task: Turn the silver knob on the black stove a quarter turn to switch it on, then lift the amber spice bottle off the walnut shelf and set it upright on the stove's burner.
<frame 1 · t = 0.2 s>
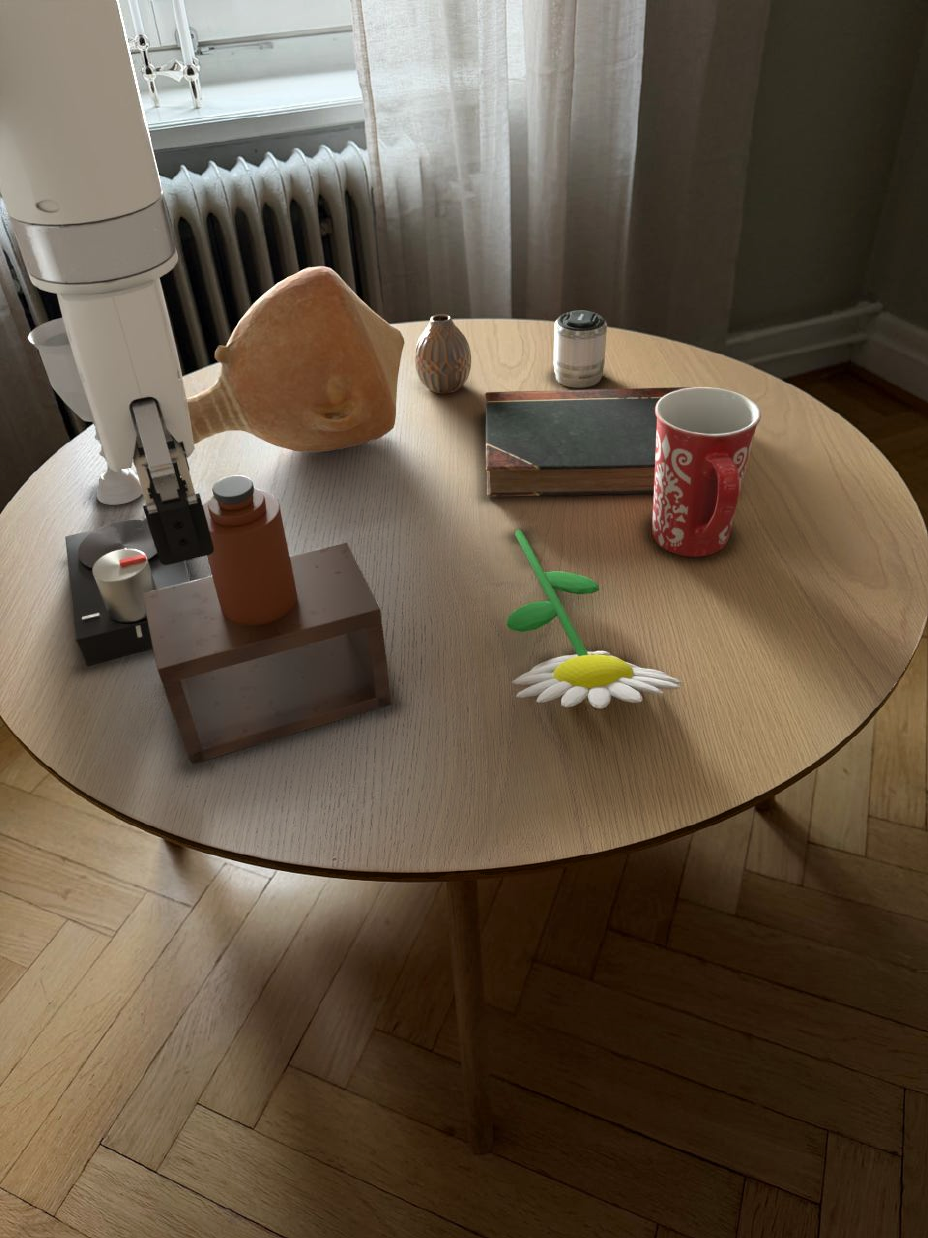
hand: (176, 514, 59), 20 cm above the table, tool pointing down, fingers open, 9 cm apart
stove knob: (126, 584, 77), point 5 cm above the table, hinge at 0.0°
stove: (136, 596, 85), on the table
mug: (692, 547, 88), on the table
decorative flower: (560, 635, 79), on the table
bottle: (259, 600, 68), point 10 cm above the table, touching shelf
burner: (123, 546, 86), resting on stove
shelf: (281, 695, 75), on the table
book: (599, 453, 102), on the table
camera lens: (577, 379, 115), on the table
vase: (444, 387, 115), on the table
chalice: (121, 493, 99), on the table
jug: (282, 448, 105), on the table
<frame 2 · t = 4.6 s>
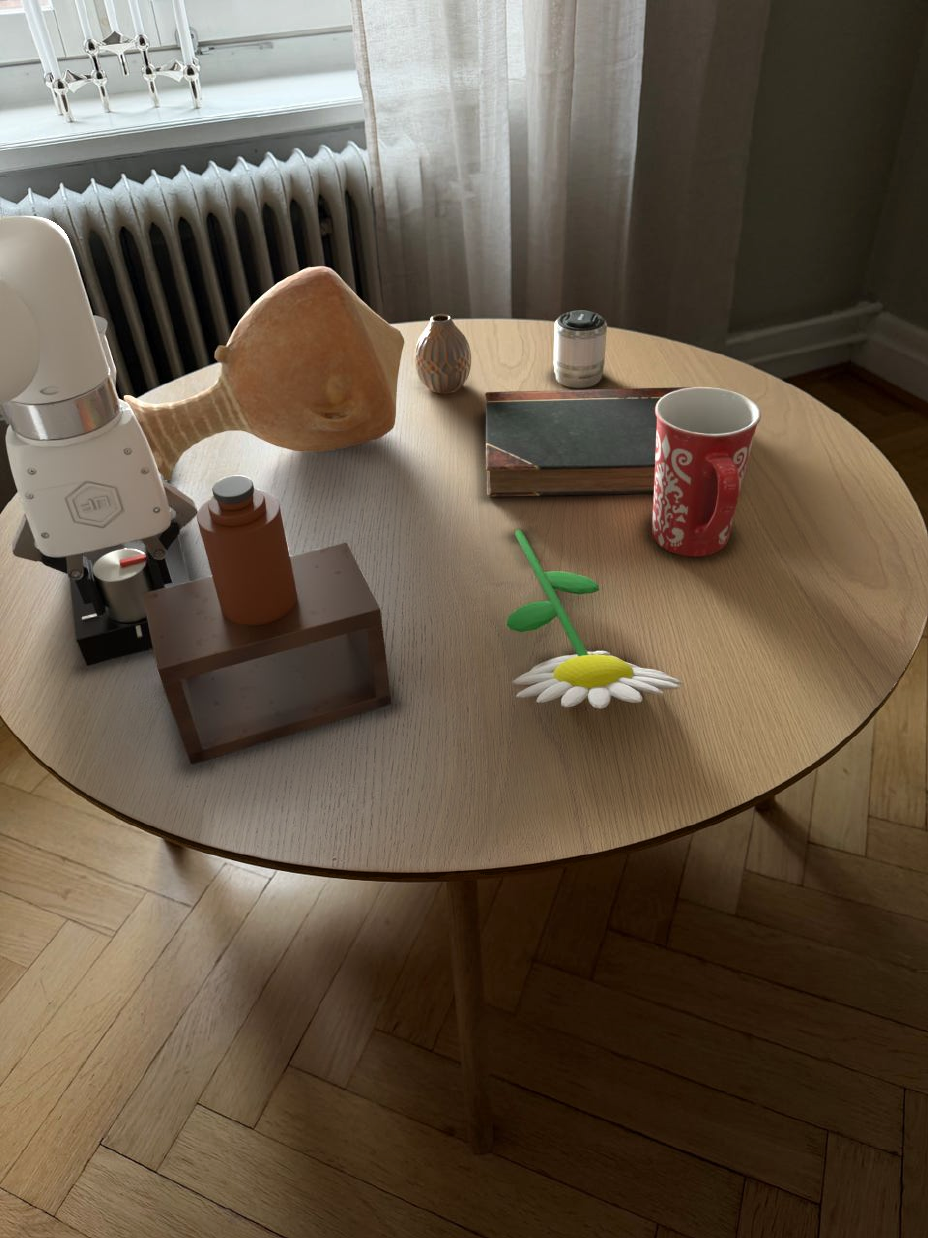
hand: (130, 596, 78), 4 cm above the table, tool pointing down, fingers closed on stove knob, 4 cm apart
stove knob: (126, 584, 77), point 5 cm above the table, hinge at -0.2°, touching gripper
everything else where it was.
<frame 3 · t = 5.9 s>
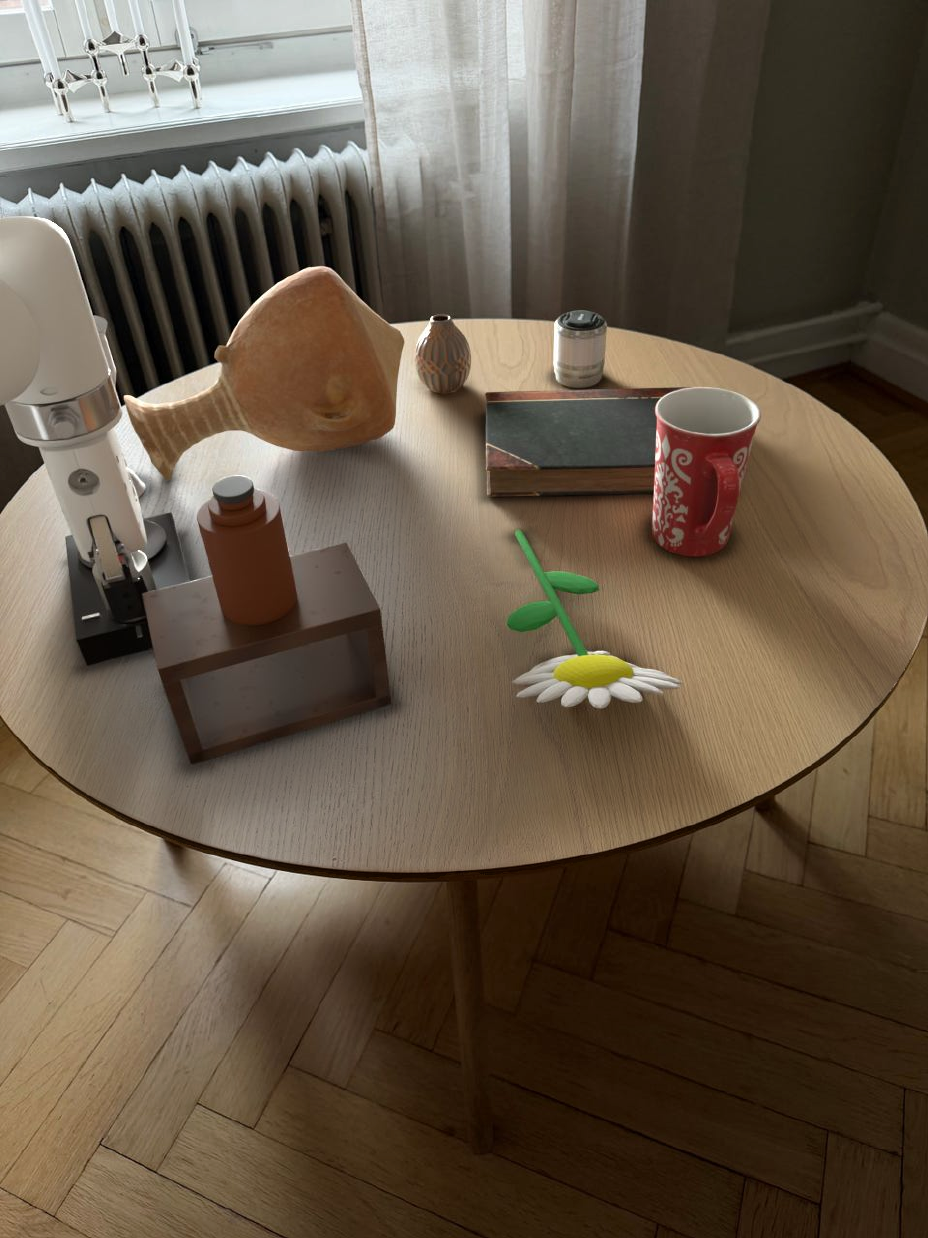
hand: (131, 596, 78), 4 cm above the table, tool pointing down, fingers closed on stove knob, 4 cm apart
stove knob: (126, 584, 77), point 5 cm above the table, hinge at 89.9°, touching gripper
everything else where it was.
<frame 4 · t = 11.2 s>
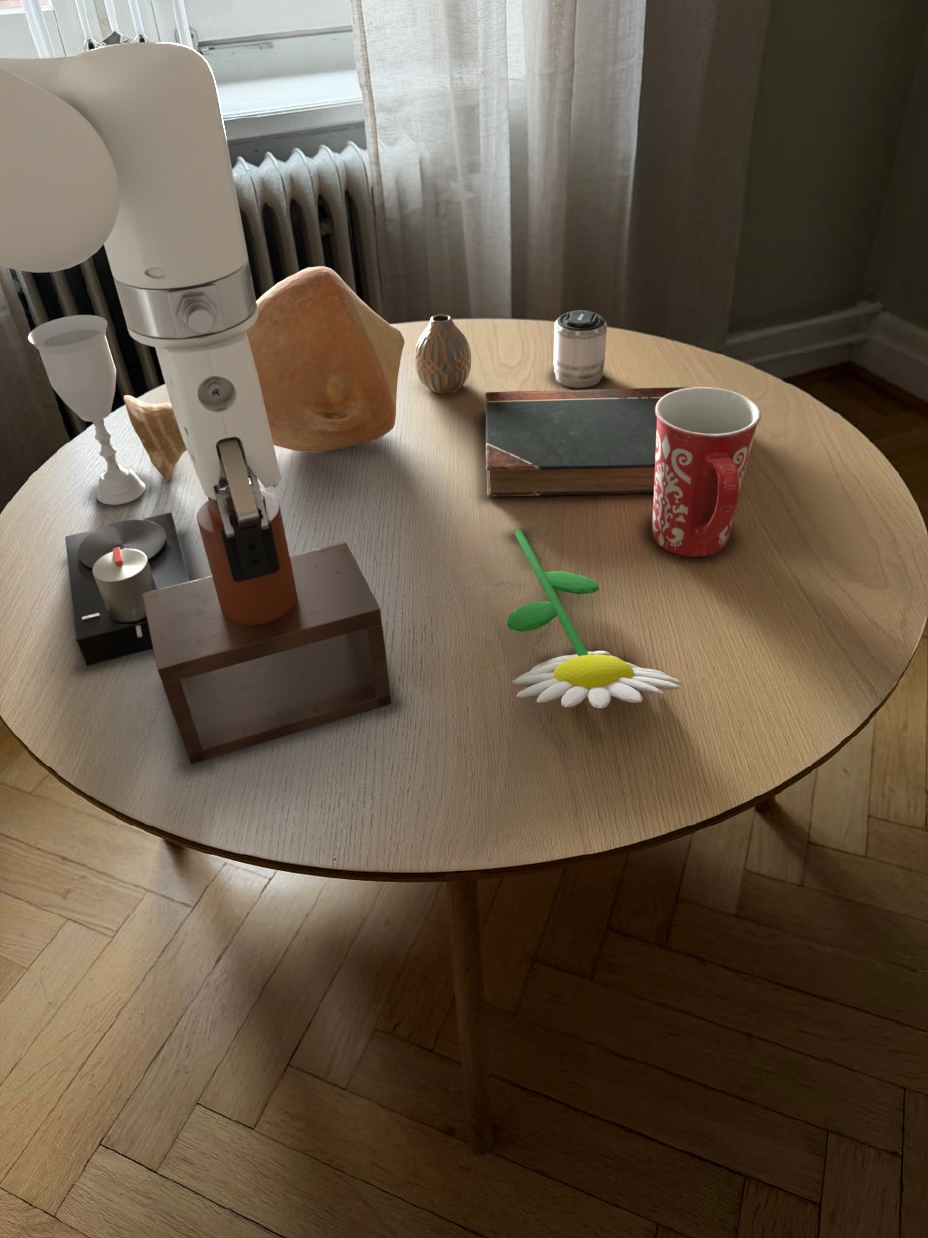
hand: (246, 547, 65), 15 cm above the table, tool pointing down, fingers closed on bottle, 5 cm apart
stove knob: (126, 584, 77), point 5 cm above the table, hinge at 90.9°
bottle: (259, 600, 68), point 10 cm above the table, touching gripper, shelf
everything else where it was.
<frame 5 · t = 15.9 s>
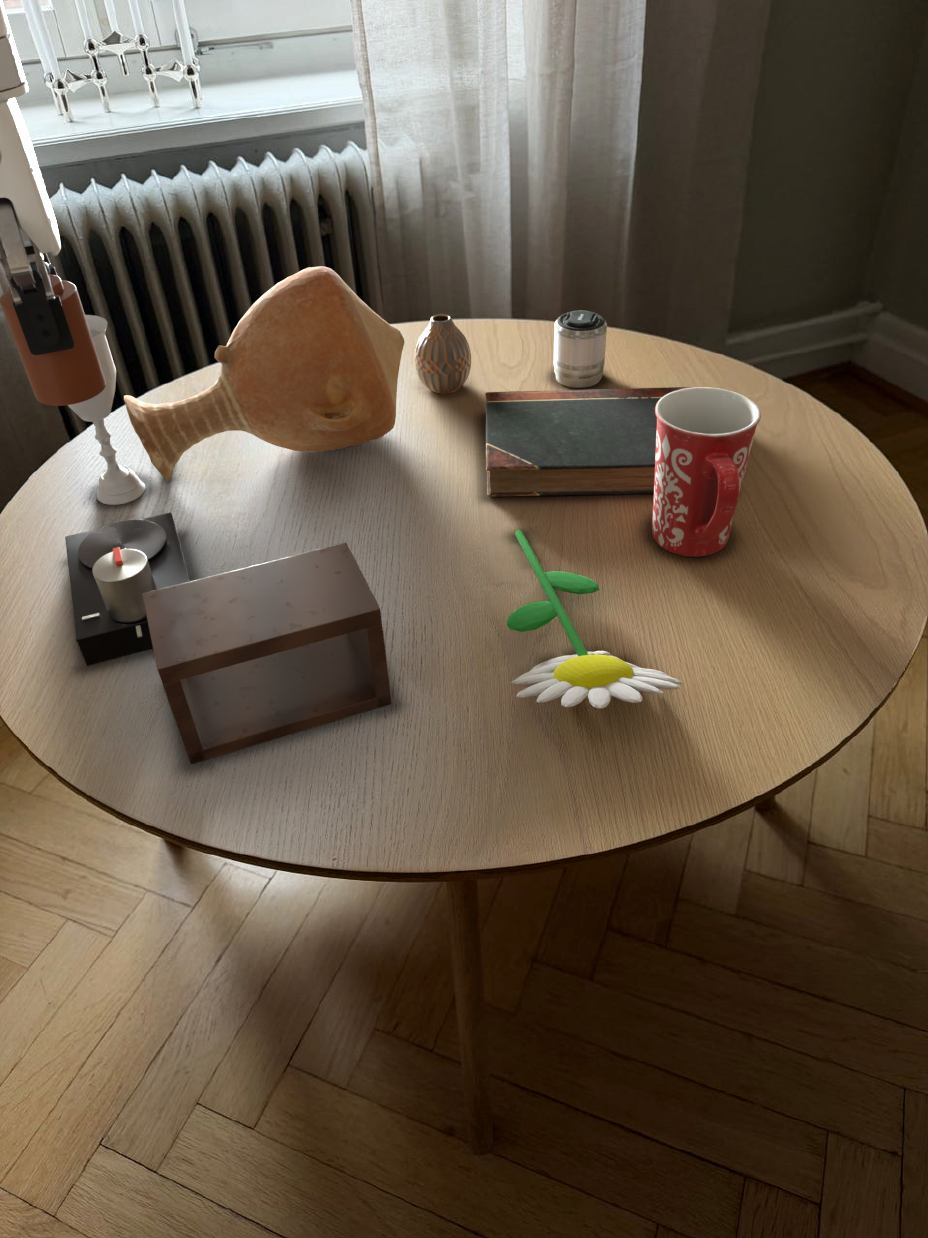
hand: (50, 332, 72), 24 cm above the table, tool pointing down, fingers closed on bottle, 5 cm apart
bottle: (71, 389, 75), point 19 cm above the table, touching gripper
everything else where it was.
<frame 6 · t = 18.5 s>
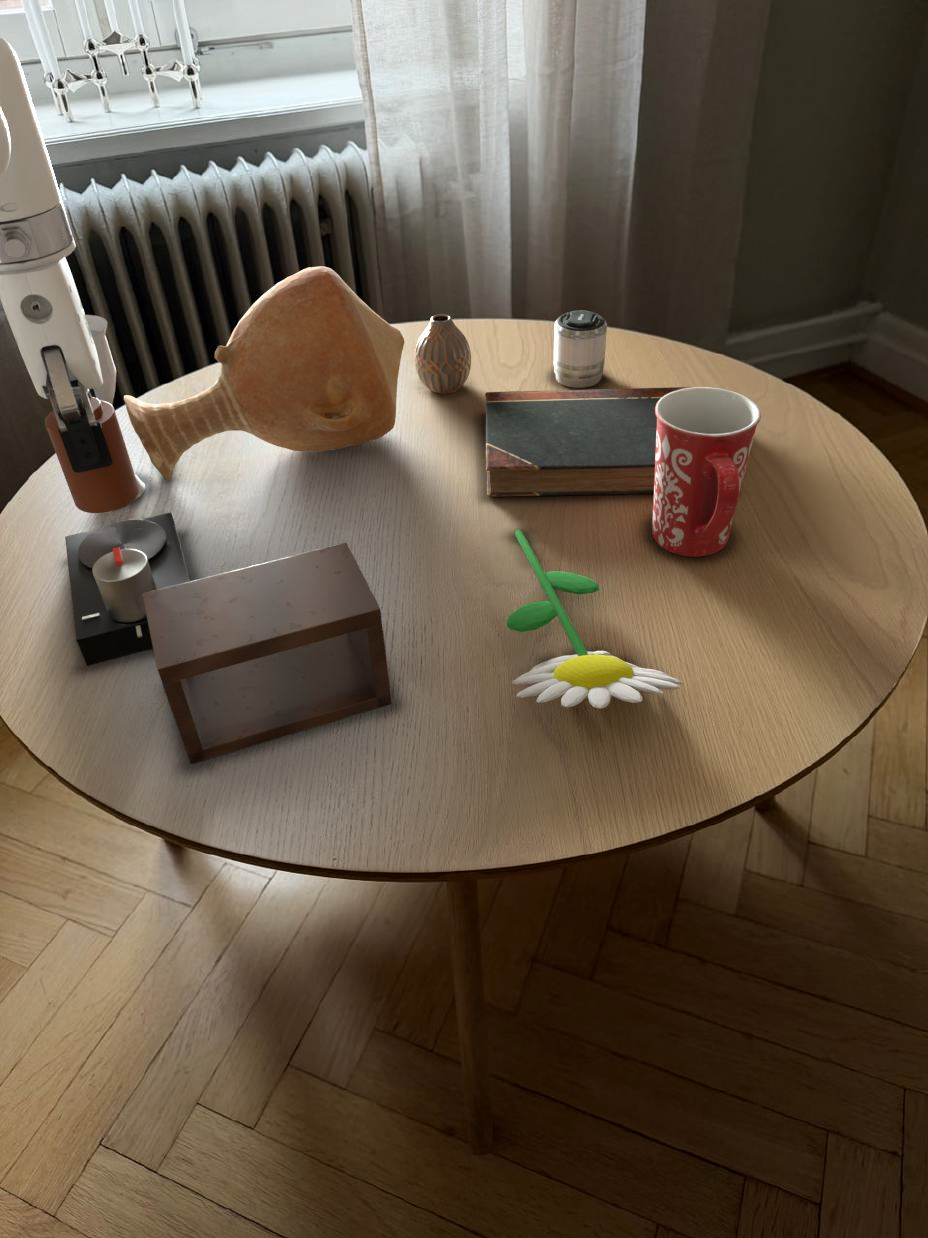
hand: (90, 447, 79), 13 cm above the table, tool pointing down, fingers closed on bottle, 5 cm apart
bottle: (107, 495, 82), point 9 cm above the table, touching gripper
everything else where it was.
when the fingers open (8 cm above the table, at t = 20.5 s): bottle stays where it is, resting on burner.
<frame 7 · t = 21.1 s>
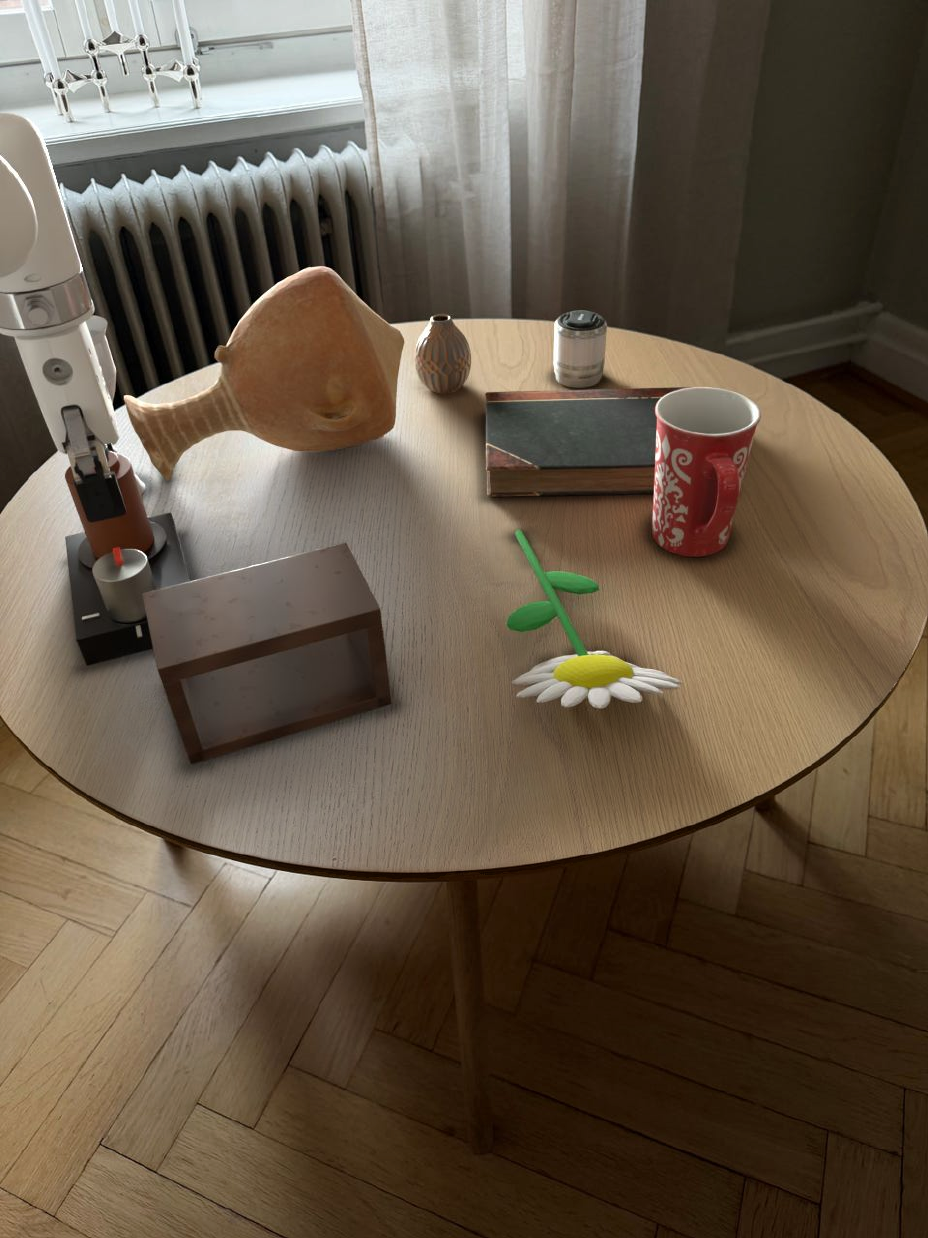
hand: (102, 488, 82), 9 cm above the table, tool pointing down, fingers open, 9 cm apart
bottle: (123, 543, 86), point 3 cm above the table, touching burner
everything else where it was.
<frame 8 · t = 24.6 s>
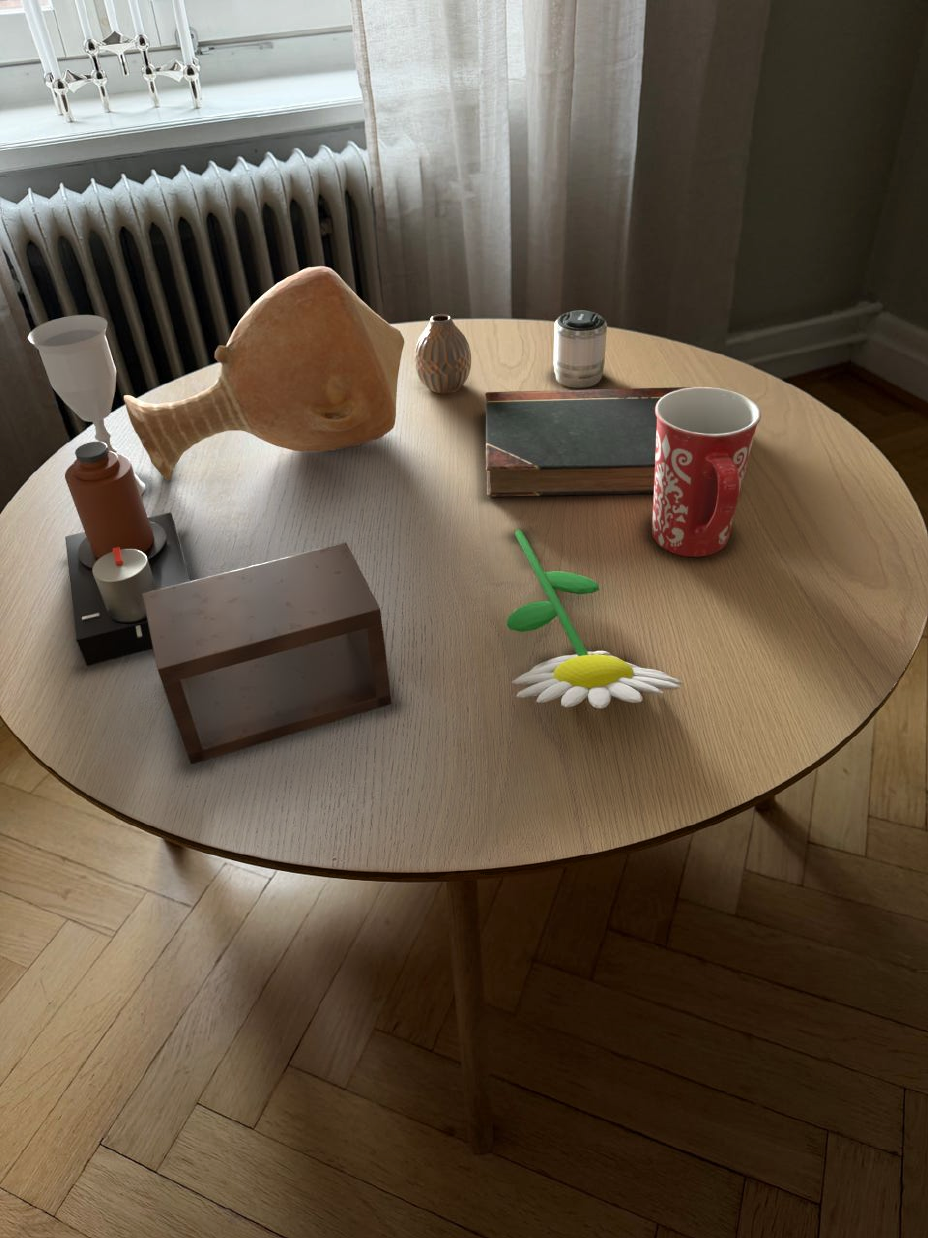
nothing on the table moved.
at the end: stove knob at +91° (first picture: +0°); bottle 0.1 cm off-centre on the burner, point 0.3 cm above the burner's base; bottle tilted 0° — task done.
